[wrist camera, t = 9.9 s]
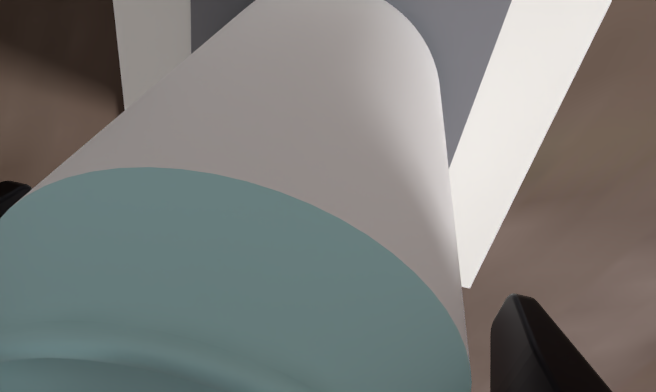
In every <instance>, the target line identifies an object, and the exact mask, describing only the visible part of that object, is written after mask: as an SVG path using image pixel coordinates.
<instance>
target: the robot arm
mask: <svg viewBox="0 0 656 392" xmlns="http://www.w3.org/2000/svg"><path fill="white" fill-rule="evenodd" d="M31 190H32V188H31V186H29V185H27V184H23V183H18V182H14V181H3V182H0V218H1V217H2V216H3V215H4V214H5V213H6V212H7V211H8V210H9V208H11V207H12V206H13V205H14V204H15V203H16V202H18V201H19V200H20V199H21V198H22V197H23V196H25V195H26V194H27V193H28V192H29V191H31ZM490 392H612V391H611V390H610V388H609V387H608V386H607V385H606V384H605V382H604V381H603V380H602V379H601V378H600V376H599V375H598V374H597V373H596V372H595V370H594V369H593V368H592V367H591V366H590V364H589V363H588V362H587V361H586V360H585V358H584V357H583V356H582V355H581V354H580V352H579V351H578V350H577V349H576V348H575V346H574V345H573V344H572V343H571V342H570V340H569V339H568V338H567V337H566V336H565V334H564V333H563V332H562V331H561V330H560V328H559V327H558V326H557V325H556V324H555V322H554V321H553V320H552V319H551V318H550V316H549V315H548V314H547V313H546V312H545V310H544V309H543V308H542V307H541V305H540V304H539V303H538V302H537V301H536V300H535V299H534V298H531V297H528V296H523V295H519V294H510V295H509V296H508V297H507V298H506V300H505V302H504V303H503V305H502V307H501V309H500V310H499V312H498V314H497V316H496V317H495V319H494V321H493V324H492V327H491V364H490Z"/></svg>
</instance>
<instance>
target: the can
mask: <svg viewBox="0 0 656 392" xmlns="http://www.w3.org/2000/svg"><path fill="white" fill-rule="evenodd" d="M471 383H472V381H471V370H470V360H469V351H468V342H467V333H466V324H465V314H464V305H463V296H462V287H461V277H460V268H459V259H458V250H457V241H456V231H455V222H454V213H453V204H452V194H451V185H450V176H449V167H448V158H447V148H446V139H445V130H444V121H443V112H442V102H441V93H440V84H439V78H438V73H437V69H436V66H435V63H434V60H433V57H432V55H431V53H430V50H429V48H428V46H427V45H426V43H425V41H424V39H423V38H422V36H421V35H420V33H419V32H418V31H417V29H416V28H415V27H414V26H413V24H412V23H411V22H410V21H409V20H408V19H407V18H406V17H405V16H404V15H403V14H402V13H401V12H400V11H398V10H397V9H396V8H395V7H393V6H392V5H391V4H389V3H388V2H386V1H385V0H255V1H254V2H253V3H251V4H250V5H249V6H248V7H246V8H245V9H244V10H243V11H242V12H240V13H239V14H238V15H237V16H236V17H234V18H233V19H232V20H231V21H230V22H229V23H227V24H226V25H225V26H224V27H223V28H222V29H220V30H219V31H218V32H217V33H216V34H214V35H213V36H212V37H211V38H210V39H209V40H207V41H206V42H205V43H204V44H203V45H201V46H200V47H199V48H198V49H197V50H196V51H194V52H193V53H192V54H191V55H190V56H189V57H187V58H186V59H185V60H184V61H183V62H181V63H180V64H179V65H178V66H177V67H176V68H174V69H173V70H172V71H171V72H170V73H168V74H167V75H166V76H165V77H164V78H163V79H161V80H160V81H159V82H158V83H157V84H155V85H154V86H153V87H152V88H151V89H150V90H148V91H147V92H146V93H145V94H144V95H143V96H141V97H140V98H139V99H138V100H137V101H135V102H134V103H133V104H132V105H131V106H130V107H128V108H127V109H126V110H125V111H124V112H122V113H121V114H120V115H119V116H118V117H117V118H115V119H114V120H113V121H112V122H111V123H110V124H108V125H107V126H106V127H105V128H104V129H102V130H101V131H100V132H99V133H98V134H97V135H95V136H94V137H93V138H92V139H91V140H89V141H88V142H87V143H86V144H85V145H84V146H82V147H81V148H80V149H79V150H78V151H77V152H75V153H74V154H73V155H72V156H71V157H69V158H68V159H67V160H66V161H65V162H64V163H62V164H61V165H60V166H59V167H58V168H56V169H55V170H54V171H53V172H52V173H51V174H49V175H48V176H47V177H46V178H45V179H44V180H42V181H41V182H40V183H39V184H38V185H36V186H35V187H34V188H33V189H32V190H31V191H29V192H28V193H27V194H26V195H25V196H23V197H22V198H21V199H20V200H19V201H18V202H16V203H15V204H14V205H13V206H12V207H11V208H9V210H8V211H7V212H6V213H5V214H4V215H3V216H2V217H1V218H0V392H471Z"/></svg>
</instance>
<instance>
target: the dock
mask: <svg viewBox="0 0 656 392" xmlns="http://www.w3.org/2000/svg"><path fill="white" fill-rule="evenodd" d="M254 1H255V0H113V6H114V16H115V25H116V34H117V43H118V53H119V62H120V71H121V80H122V90H123V99H124V108H125V110H126V109H127V108H128V107H130V106H131V105H132V104H133V103H134V102H135V101H137V100H138V99H139V98H140V97H141V96H143V95H144V94H145V93H146V92H147V91H148V90H150V89H151V88H152V87H153V86H154V85H155V84H157V83H158V82H159V81H160V80H161V79H163V78H164V77H165V76H166V75H167V74H168V73H170V72H171V71H172V70H173V69H174V68H176V67H177V66H178V65H179V64H180V63H181V62H183V61H184V60H185V59H186V58H187V57H189V56H190V55H191V54H192V53H193V52H194V51H196V50H197V49H198V48H199V47H200V46H201V45H203V44H204V43H205V42H206V41H207V40H209V39H210V38H211V37H212V36H213V35H214V34H216V33H217V32H218V31H219V30H220V29H222V28H223V27H224V26H225V25H226V24H227V23H229V22H230V21H231V20H232V19H233V18H234V17H236V16H237V15H238V14H239V13H240V12H242V11H243V10H244V9H245V8H246V7H248V6H249V5H250V4H251V3H253V2H254ZM385 1H386V2H388V3H389V4H391V5H392V6H393V7H395V8H396V9H397V10H398V11H400V12H401V13H402V14H403V15H404V16H405V17H406V18H407V19H408V20H409V21H410V22H411V23H412V24H413V26H414V27H415V28H416V29H417V31H418V32H419V33H420V35H421V36H422V38H423V39H424V41H425V43H426V45H427V46H428V48H429V50H430V53H431V55H432V57H433V60H434V63H435V66H436V69H437V73H438V78H439V84H440V93H441V102H442V112H443V121H444V130H445V139H446V148H447V158H448V167H449V176H450V185H451V194H452V204H453V213H454V222H455V231H456V241H457V250H458V259H459V268H460V277H461V287H466V288H470V287H471V285H472V283H473V281H474V279H475V277H476V275H477V273H478V271H479V269H480V267H481V265H482V262H483V260H484V258H485V256H486V254H487V252H488V250H489V248H490V246H491V244H492V242H493V240H494V238H495V236H496V234H497V232H498V230H499V228H500V226H501V224H502V222H503V220H504V218H505V216H506V214H507V212H508V210H509V208H510V206H511V204H512V202H513V200H514V198H515V196H516V194H517V192H518V190H519V188H520V186H521V184H522V181H523V179H524V177H525V175H526V173H527V171H528V169H529V167H530V165H531V163H532V161H533V159H534V157H535V155H536V153H537V151H538V149H539V147H540V145H541V143H542V141H543V139H544V137H545V135H546V133H547V131H548V129H549V127H550V125H551V123H552V121H553V119H554V117H555V115H556V113H557V111H558V109H559V107H560V105H561V102H562V100H563V98H564V96H565V94H566V92H567V90H568V88H569V86H570V84H571V82H572V80H573V78H574V76H575V74H576V72H577V70H578V68H579V66H580V64H581V62H582V60H583V58H584V56H585V54H586V52H587V50H588V48H589V46H590V44H591V42H592V40H593V38H594V36H595V34H596V32H597V30H598V28H599V26H600V24H601V21H602V19H603V17H604V15H605V13H606V11H607V9H608V7H609V5H610V3H611V1H612V0H385Z"/></svg>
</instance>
